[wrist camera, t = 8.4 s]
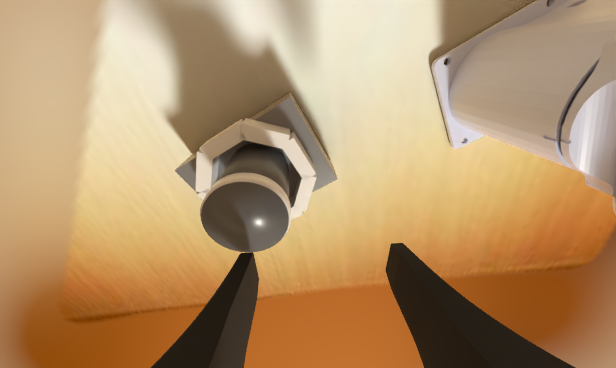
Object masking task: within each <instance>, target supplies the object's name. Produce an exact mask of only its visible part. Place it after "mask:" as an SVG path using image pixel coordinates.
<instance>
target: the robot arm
mask: <svg viewBox="0 0 616 368" xmlns="http://www.w3.org/2000/svg"><path fill="white" fill-rule="evenodd" d="M547 1H548V0H536V1H534V2H533V3H531V4H529V5H527V6H526V7H524V8H522V9H521V10H519V11H517V12H515V13H514V14H512V15H510V16H509V17H507V18H505V19H503V20H502V21H500V22H498V23H497V24H495V25H493V26H492V27H490V28H488V29H486V30H485V31H483V32H481V33H480V34H478V35H476V36H474V37H473V38H471V39H469V40H468V41H466V42H464V43H462V44H461V45H459V46H457V47H456V48H454V49H452V50H450V51H449V52H447V53H445V54H444V55H442V56H440V57H439V58H437V59H435V60H434V62H433V63H432V66H431V69H432V73H433V77H434V81H435V85H436V89H437V93H438V97H439V101H440V105H441V109H442V113H443V117H444V121H445V125H446V129H447V132H448V136H449V140H450V144H451V147H453V148H455V149H459V148H461V147H463V146H465V145H467V144H469V143H471V142H473V141H475V140H477V139H479V138H482V137H484V136H487V137H490V138H493V139H495V140H498V141H501V142H503V143H506V144H508V145H511V146H514V147H516V148H519V149H521V150H524V151H527V152H529V153H532V154H535V155H537V156H540V157H542V158H545V159H548V160H550V161H553V162H556V163H558V164H561V165H563V166H566V167H569V168H571V169H574V170H577V171H579V172H580V173H582V174H583V175H584V177H585V179H586V185H588V186H590V187H592V188H595V189H597V190H600V191H602V192H604V193H607V194H609V195H612V196H614V197H613V210H614V213H615V215H616V0H549V4H548V5H547ZM446 58H447V59H448V62H447V64H446V65H444V60H445V59H446ZM464 138H465V139H464ZM463 139H464V141H463V142H462V140H463ZM386 273H387V277H388V280H389V283H390V286H391V289H392V291H393V294H394V296H395V298H396V300H397V303H398V305H399V307H400V309H401V312H402V314H403V316H404V318H405V320H406V323H407V325H408V327H409V329H410V331H411V334H412V336H413V338H414V341H415V343H416V346H417V348H418V351H419V354H420V357H421V359H422V362H423V365H424V368H575V367H573V366H571V365H569V364H568V363H566V362H564V361H562V360H560V359H559V358H557V357H555V356H553V355H551V354H550V353H548V352H546V351H544V350H543V349H541V348H540V347H538V346H536V345H534V344H533V343H531V342H529V341H528V340H526V339H525V338H523V337H521V336H520V335H518V334H516V333H515V332H513V331H512V330H510V329H509V328H507V327H506V326H504V325H503V324H501V323H499V322H498V321H497V320H495V319H494V318H492V317H491V316H489V315H488V314H486V313H485V312H484V311H482V310H481V309H479V308H478V307H477V306H475V305H474V304H473V303H471V302H470V301H468V300H467V299H466V298H465V297H463V296H462V295H461V294H459V293H458V292H457V291H456V290H454V289H453V288H452V287H451V286H449V285H448V284H447V283H446V282H445V281H444V280H442V279H441V278H440V277H439V276H438V275H437V274H436V273H434V272H433V271H432V270H431V269H430V268H429V267H428V266H427V265H426V264H425V263H423V262H422V261H421V260H420V259H419V258H418V257H417V256H416V255H415V254H414V253H413V252H412V251H411V250H410V249H408V248H407V247H406V246H405V245H404V244H403V243H394V244H391V246H390V251H389V256H388V261H387V266H386ZM258 283H259V277H258V273H257V268H256V263H255V259H254V254H253V253H241V254H240V255H239V257H238V258H237V260H236V262H235V263H234V265H233V267H232V268H231V270H230V272H229V273H228V275H227V276H226V278H225V279H224V281H223V282H222V284H221V285H220V287H219V288H218V290H217V291H216V292H215V294H214V295H213V297H212V298H211V299H210V301H209V302H208V303H207V305H206V306H205V307H204V309H203V310H202V311H201V312H200V314H199V315H198V316H197V317H196V319H195V320H194V321H193V322H192V324H191V325H190V326H189V327H188V328H187V329H186V331H185V332H184V333H183V334H182V335H181V336H180V337H179V338H178V340H177V341H176V342H175V343H174V344H173V345H172V346H171V347H170V348H169V349H168V350H167V352H166V353H165V354H164V355H163V356H162V357H161V358H160V359H159V360H158V361H157V362H156V363H155V364H154V365H153V366H152V367H151V368H244V362H245V355H246V349H247V344H248V339H249V335H250V330H251V325H252V320H253V316H254V311H255V306H256V301H257V293H258Z"/></svg>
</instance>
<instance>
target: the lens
mask: <svg viewBox="0 0 616 368" xmlns="http://www.w3.org/2000/svg"><path fill="white" fill-rule="evenodd" d="M200 216H201V221H202V224H203V227H204V229H205V231H206V232H207V233H208V235H209V236H210V237H211V238H212V239H213V240H214V241H215V242H217V243H218V244H220V245H222V246H224V247H226V248H228V249H231V250H235V251H239V252H257V251H262V250H265V249H268V248H270V247H272V246H274V245H275V244H277V243H278V242H279V241H280V240H281V239H282V238H283V237H284V236H285V234H286V233H287V231H288V229H289V226H290V222H291V207H290V202H289V165H288V162H287V160H286V158H285V157H284V155H283V154H282V153H281V152H280V151H279V150H278V149H276V148H275V147H272V146H268V145H263V144H259V143H251V144H247V145H245V146H243V147H241V148H240V149H238V150H237V151H236V152H235V153H234V155H233V156H232V158H231V160H230V161H229V163H228V165H227V166H226V168H225V169H224V171H223V173H222V174H221V176H220V178H219V179H218V181H217V182H216V183H215V184H214V185H213V186H212V187H211V188H210V190H209V192H208V193H207V195H206V196H205V198H204V200H203V202H202V205H201V209H200Z"/></svg>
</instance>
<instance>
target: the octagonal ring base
mask: <svg viewBox="0 0 616 368" xmlns="http://www.w3.org/2000/svg"><path fill="white" fill-rule="evenodd" d="M251 143H259V144H263V145H268V146H272V147H275V148H276V149H278V150H279V151H280V152H281V153H282V154H283V155H284V157H285V158H286V160H287V162H288V165H289V202H290V207H291V220H293V219H295V218H297V217H299V216H301V215H303V211H306V209H307V206H308V203H309V200H310V197H311V194H312V192H314V191H316V190H317V189H319V188H321V187H323V186H325V185H327V184H329V183H331V182H333V181H335V180H337V179H338V178H337V176H336V173H335V171H334V168H333V165H332V163H331V161H330V160H329V158H328V156H327V154H326V153H325V151H324V149H323V147H322V146H321V144H320V142H319V140H318V139H317V137H316V135H315V133H314V132H313V130H312V128H311V126H310V125H309V123H308V121H307V119H306V118H305V116H304V114H303V112H302V111H301V109H300V107H299V105H298V104H297V102H296V100H295V98H294V97H293V95H292V93H291V92H290V93H288V94H286V95H285V96H283V97H282V98H280V99H279V100H277V101H275V102H274V103H272V104H271V105H269V106H268V107H266V108H264V109H263V110H261V111H260V112H258V113H257V114H255V115H254V116H252V117H250V118H249V119H248V118H246V119H245V120H244V121H243V120H242V119H240V120H239V121H237V122H236V123H234V124H233V125H231V126H229V127H228V128H226V129H225V130H223V131H222V132H220V133H219V134H217V135H215V136H214V137H212V138H211V139H209V140H208V141H206V142H205V143H204V144H203V145H202V146H201V147H200V148H199V150H198V151H197V152H196V153H194V154H193V155H191V156H190V157H189V158H188V159H187V160H186V161H185V162H183V163H182V164H181V165H180V166H179V167H178V168H177V169H176V170H175V171H176V172H177V173H178V174H179V175H180V176H181V177H182V178H183V179H184V180H185V181H186V182H187V183H188V184H189V185H190V186H191V187H192V188H193V189H194V190H195V191H196V192H197V193H198V194H197V195H198V196H199V197H200V198H201V199H202V200H204V198H205V196H206V195H207V193H208V192H209V190H210V188H211V187H212V186H213V185H214V184H215V183H216V182H217V181H218V179H219V178H220V176H221V174H222V173H223V171H224V169H225V168H226V166H227V165H228V163H229V161H230V160H231V158H232V156H233V155H234V153H235V152H236V151H237V150H238V149H240V148H241V147H243V146H245V145H247V144H251Z"/></svg>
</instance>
